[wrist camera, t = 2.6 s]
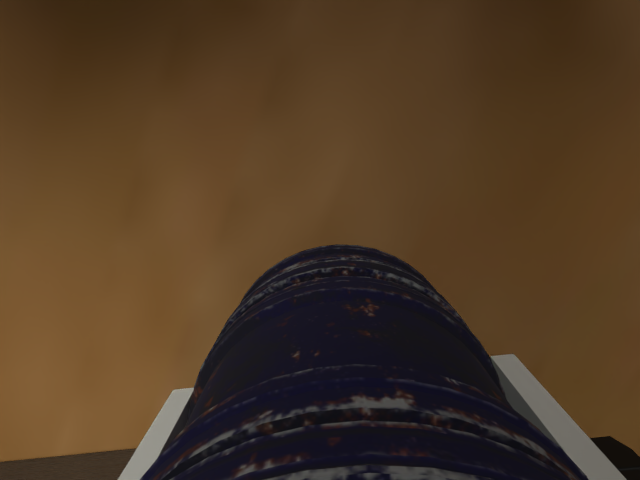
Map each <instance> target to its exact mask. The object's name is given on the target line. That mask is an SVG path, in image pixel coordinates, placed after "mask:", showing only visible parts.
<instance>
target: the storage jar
mask: <svg viewBox="0 0 640 480" xmlns="http://www.w3.org/2000/svg"><path fill="white" fill-rule="evenodd" d="M140 480H589V479H588V478H587V476H586V475H585V474H584V473H583V472H582V470H581V469H580V468H579V467H578V466H577V465H576V464H575V463H574V462H573V461H572V460H571V458H570V457H569V456H568V455H567V454H566V453H565V452H564V451H563V450H562V449H561V448H560V447H559V446H558V445H557V444H555V443H554V442H553V441H551V440H550V439H549V438H547V437H546V436H545V435H544V434H543V433H542V432H541V430H540V429H539V428H538V427H536V426H535V425H534V424H532V423H531V422H530V421H528V420H527V419H526V418H525V417H523V416H522V415H521V414H519V413H518V412H517V411H515V410H514V409H513V408H512V406H511V405H510V403H509V402H508V401H507V399H506V396H505V391H504V389H503V386H502V384H501V381H500V379H499V376H498V374H497V371H496V369H495V368H494V366H493V363H492V361H491V359H490V357H489V355H488V354H487V352H486V351H485V349H484V348H483V346H482V345H481V343H480V342H479V340H478V339H477V338H476V337H475V336H474V335H473V334H472V332H471V331H470V329H469V328H468V326H467V325H466V323H465V322H464V321H463V319H462V318H461V317H460V316H459V314H458V313H457V312H456V311H455V310H454V308H453V307H452V306H451V305H450V304H449V303H448V302H447V301H446V300H445V298H444V297H443V296H442V295H440V294H439V293H438V292H437V291H436V290H435V288H434V287H433V286H432V285H431V284H430V283H429V282H428V281H427V280H426V278H425V277H424V276H423V275H422V274H420V273H419V272H418V271H417V270H415V269H414V268H413V267H412V266H410V265H409V264H407V263H405V262H404V261H402V260H400V259H398V258H397V257H395V256H393V255H390V254H388V253H385V252H382V251H379V250H377V249H373V248H368V247H363V246H358V245H329V246H320V247H316V248H312V249H309V250H305V251H301V252H299V253H297V254H294V255H292V256H290V257H288V258H285V259H284V260H282V261H281V262H279V263H277V264H276V265H274V266H273V267H271V268H270V269H268V270H267V271H266V272H265V273H264V274H263V275H262V276H261V277H260V278H258V279H257V280H256V281H255V283H254V284H253V285H252V286H251V288H250V289H249V290H248V291H247V293H246V294H245V296H244V297H243V299H242V301H241V303H240V304H239V306H238V307H237V308H236V310H235V311H234V312H233V313H232V315H231V316H230V317H229V319H228V320H227V322H226V324H225V326H224V327H223V329H222V331H221V333H220V335H219V336H218V338H217V340H216V342H215V344H214V345H213V347H212V349H211V351H210V352H209V354H208V356H207V358H206V359H205V361H204V363H203V365H202V366H201V369H200V372H199V375H198V377H197V380H196V383H195V386H194V391H193V394H192V397H191V402H190V408H189V415H188V421H187V423H186V425H185V427H184V429H183V431H181V432H180V433H179V434H178V435H177V436H176V437H175V438H174V439H173V440H172V441H171V443H170V444H169V445H168V446H167V447H166V449H165V450H164V451H163V452H162V453H161V455H160V456H159V457H158V458H157V459H156V461H155V462H154V463H153V464H152V465H151V467H150V468H149V469H148V470H147V471H146V473H145V474H144V475H143V476H142V477H141V479H140Z"/></svg>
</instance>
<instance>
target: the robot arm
mask: <svg viewBox="0 0 640 480" xmlns="http://www.w3.org/2000/svg"><path fill="white" fill-rule="evenodd" d="M491 361H492V363H493V366H494V368H495V369H496V371H497V374H498V376H499V379H500V381H501V384H502V386H503V389H504V391H505V396H506V399H507V401H508V402H509V403H510V405H511V406H512V408H513V409H514V410H515V411H517V412H518V413H519V414H521V415H522V416H523V417H525V418H526V419H527V420H528V421H530V422H531V423H532V424H534V425H535V426H536V427H538V428H539V429H540V430H541V432H542V433H543V434H544V435H545V436H546V437H547V438H549V439H550V440H551V441H553V442H554V443H555V444H557V445H558V446H559V447H560V448H561V449H562V450H563V451H564V452H565V453H566V454H567V455H568V456H569V457H570V458H571V460H572V461H573V462H574V463H575V464H576V465H577V466H578V467H579V468H580V469H581V470H582V472H583V473H584V474H585V475H586V476H587V478H588V479H589V480H640V457H639V456H638V455H637V454H636V453H635V452H634V451H633V450H632V449H630V448H629V447H627V446H625V445H624V444H622V443H620V442H619V441H617V440H615V439H614V438H612V437H610V436H607V437H597V438H589V437H588V436H587V435H586V434H585V433H584V432H583V430H582V429H581V428H580V427H579V426H578V425H577V424H576V423H575V422H574V420H573V419H572V418H571V417H570V416H569V415H568V414H567V413H566V412H565V410H564V409H563V408H562V407H561V406H560V405H559V404H558V403H557V402H556V400H555V399H554V398H553V397H552V396H551V395H550V394H549V393H548V392H547V390H546V389H545V388H544V387H543V386H542V385H541V384H540V383H539V382H538V380H537V379H536V378H535V377H534V376H533V375H532V374H531V373H530V371H529V370H528V369H527V368H526V367H525V366H524V365H523V364H522V363H521V361H520V360H519V359H518V358H517V357H516V356H515V355H514V354H507V355H498V356H491ZM193 391H194V388H185V389H176V390H173V391H172V393H171V394H170V396H169V397H168V399H167V401H166V402H165V404H164V406H163V407H162V409H161V410H160V412H159V414H158V415H157V417H156V419H155V420H154V422H153V423H152V425H151V427H150V428H149V430H148V431H147V433H146V435H145V436H144V438H143V440H142V441H141V443H140V444H139V446H138V448H137V449H136V451H135V452H134V454H133V456H132V457H131V459H130V461H129V462H128V464H127V465H126V467H125V469H124V470H123V472H122V473H121V475H120V477H119V478H118V480H140V479H141V477H142V476H143V475H144V474H145V473H146V471H147V470H148V469H149V468H150V467H151V465H152V464H153V463H154V462H155V461H156V459H157V458H158V457H159V456H160V455H161V453H162V452H163V451H164V450H165V449H166V447H167V446H168V445H169V444H170V443H171V441H172V440H173V439H174V438H175V437H176V436H177V435H178V434H179V433H180V432H181V431H183V429H184V427H185V425H186V423H187V421H188V415H189V408H190V402H191V397H192V394H193Z"/></svg>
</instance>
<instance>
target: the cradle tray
mask: <svg viewBox="0 0 640 480" xmlns="http://www.w3.org/2000/svg"><path fill="white" fill-rule="evenodd" d="M135 451H136V449H127V450H117V451H107V452H97V453H87V454H77V455H67V456H57V457H47V458H37V459H27V460H17V461H7V462H0V480H118V478H119V477H120V475H121V473H122V472H123V470H124V469H125V467H126V465H127V464H128V462H129V461H130V459H131V457H132V456H133V454H134V452H135Z"/></svg>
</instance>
